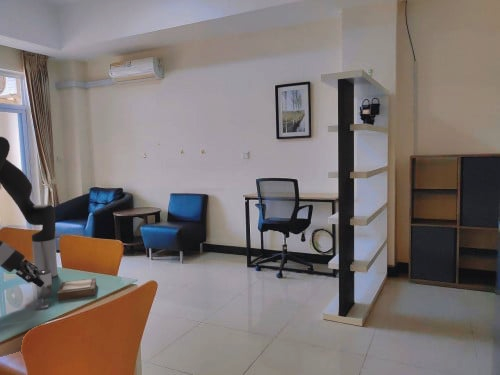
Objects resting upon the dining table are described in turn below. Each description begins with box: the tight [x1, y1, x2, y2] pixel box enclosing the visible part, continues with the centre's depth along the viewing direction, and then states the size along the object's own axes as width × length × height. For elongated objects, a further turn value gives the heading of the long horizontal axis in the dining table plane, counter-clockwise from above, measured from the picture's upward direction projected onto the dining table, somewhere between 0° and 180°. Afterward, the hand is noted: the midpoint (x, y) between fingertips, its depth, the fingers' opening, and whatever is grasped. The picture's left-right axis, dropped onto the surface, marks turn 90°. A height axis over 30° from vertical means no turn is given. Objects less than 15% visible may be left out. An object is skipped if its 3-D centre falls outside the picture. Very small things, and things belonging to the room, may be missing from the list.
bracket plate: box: [34, 300, 51, 311], centre depth 139 cm, size 6×4×1 cm, turn 21°
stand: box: [56, 278, 97, 302], centre depth 152 cm, size 13×13×3 cm
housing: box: [36, 269, 54, 300], centre depth 149 cm, size 5×5×10 cm
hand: (43, 281), depth 148 cm, fingers open, 8 cm apart
